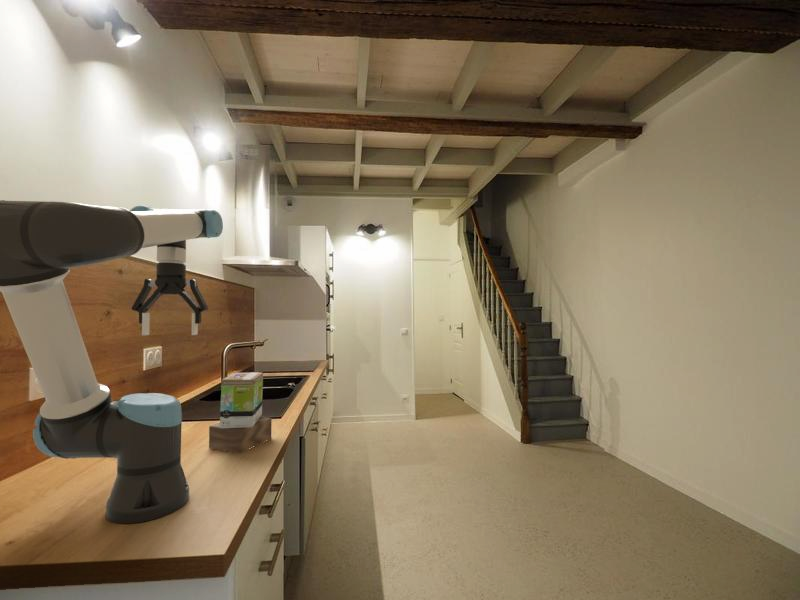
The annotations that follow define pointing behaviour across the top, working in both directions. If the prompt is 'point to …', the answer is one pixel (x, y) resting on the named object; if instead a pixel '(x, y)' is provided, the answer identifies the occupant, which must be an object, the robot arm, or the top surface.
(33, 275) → the robot arm
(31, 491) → the top surface
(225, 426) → the tea box
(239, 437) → the walnut riser
